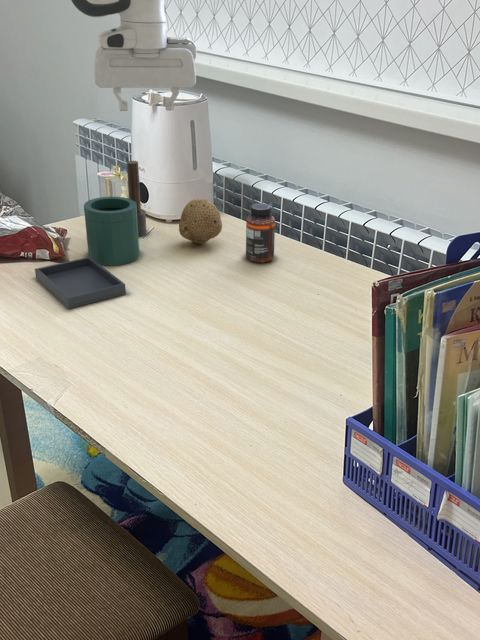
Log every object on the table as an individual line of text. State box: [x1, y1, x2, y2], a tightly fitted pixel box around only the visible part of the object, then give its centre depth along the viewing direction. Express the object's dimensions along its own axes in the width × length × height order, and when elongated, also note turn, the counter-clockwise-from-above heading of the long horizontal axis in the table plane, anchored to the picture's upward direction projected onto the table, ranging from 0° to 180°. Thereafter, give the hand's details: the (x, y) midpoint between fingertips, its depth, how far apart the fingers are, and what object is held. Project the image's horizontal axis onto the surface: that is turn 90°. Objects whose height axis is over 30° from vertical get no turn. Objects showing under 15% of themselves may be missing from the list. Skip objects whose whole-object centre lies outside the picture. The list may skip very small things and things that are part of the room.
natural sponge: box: [178, 198, 223, 245], centre depth 148 cm, size 9×9×10 cm
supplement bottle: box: [245, 202, 276, 264], centre depth 142 cm, size 6×6×11 cm
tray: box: [34, 256, 127, 310], centre depth 130 cm, size 15×11×2 cm
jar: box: [83, 196, 140, 267], centre depth 141 cm, size 10×10×11 cm
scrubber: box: [126, 160, 147, 238], centre depth 151 cm, size 4×4×16 cm
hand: (146, 110), depth 143 cm, fingers open, 8 cm apart
